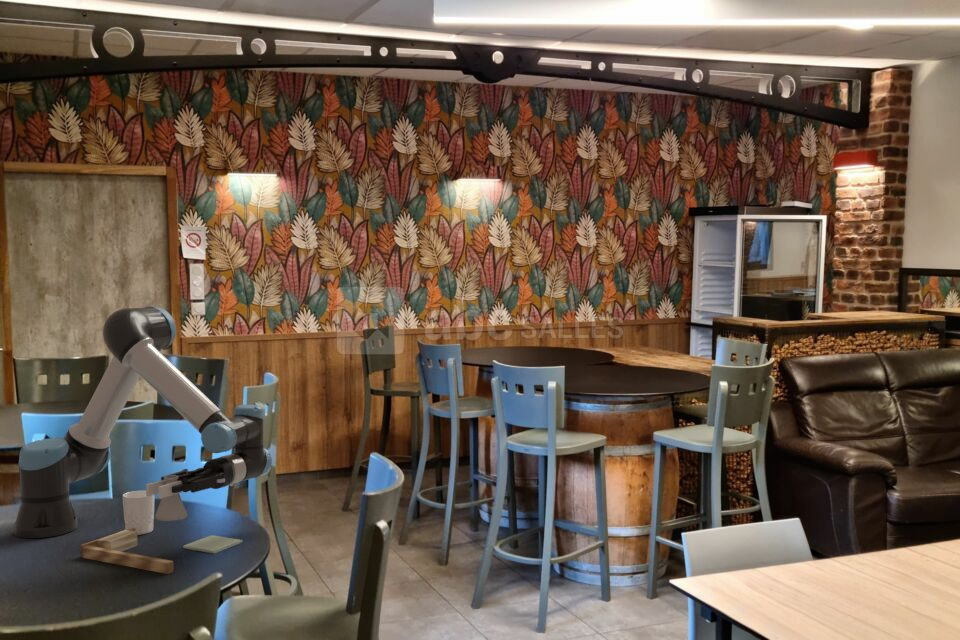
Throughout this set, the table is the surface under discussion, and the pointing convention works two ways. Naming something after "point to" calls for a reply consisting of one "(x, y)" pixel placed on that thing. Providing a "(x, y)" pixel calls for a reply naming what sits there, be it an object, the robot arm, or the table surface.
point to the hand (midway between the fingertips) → (153, 491)
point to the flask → (171, 505)
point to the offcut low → (126, 546)
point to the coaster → (212, 544)
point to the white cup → (138, 511)
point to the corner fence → (125, 558)
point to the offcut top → (117, 539)
